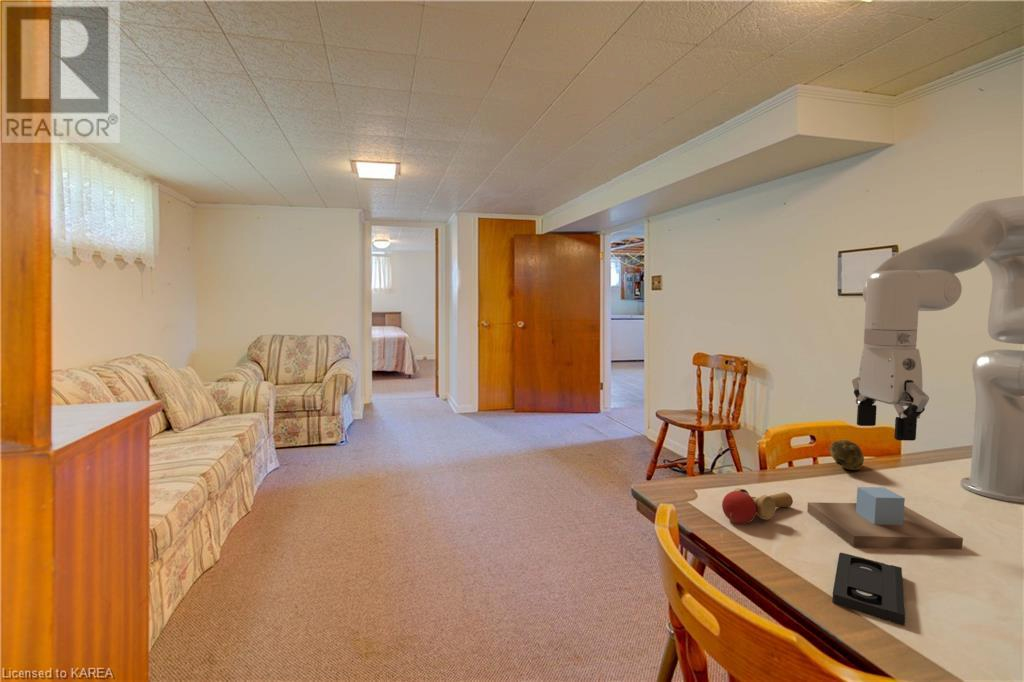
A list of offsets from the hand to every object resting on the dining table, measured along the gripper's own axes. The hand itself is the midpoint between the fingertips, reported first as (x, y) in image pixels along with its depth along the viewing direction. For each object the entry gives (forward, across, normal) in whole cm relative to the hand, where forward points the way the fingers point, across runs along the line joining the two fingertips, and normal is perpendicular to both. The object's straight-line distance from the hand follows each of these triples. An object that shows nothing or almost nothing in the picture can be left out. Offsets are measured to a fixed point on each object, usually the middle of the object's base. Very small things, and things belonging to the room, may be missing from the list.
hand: (884, 432), depth 88 cm
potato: (+19, +33, -15) cm, 40 cm away
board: (+18, 0, 0) cm, 18 cm away
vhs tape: (+19, -20, +15) cm, 31 cm away
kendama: (+19, +5, +20) cm, 28 cm away
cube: (+16, 0, 0) cm, 16 cm away
